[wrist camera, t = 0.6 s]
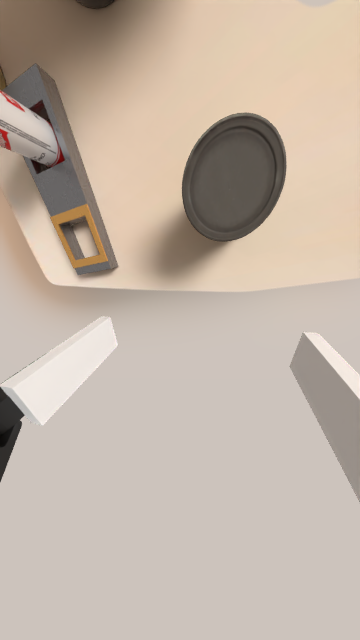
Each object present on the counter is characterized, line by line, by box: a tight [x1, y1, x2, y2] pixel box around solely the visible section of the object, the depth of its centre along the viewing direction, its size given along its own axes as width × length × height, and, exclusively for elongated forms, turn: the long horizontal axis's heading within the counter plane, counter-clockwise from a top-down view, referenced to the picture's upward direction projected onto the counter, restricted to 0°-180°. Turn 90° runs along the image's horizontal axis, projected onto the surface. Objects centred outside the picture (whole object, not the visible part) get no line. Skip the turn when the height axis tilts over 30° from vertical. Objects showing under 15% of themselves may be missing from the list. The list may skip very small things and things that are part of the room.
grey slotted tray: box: [2, 63, 118, 275], centre depth 32 cm, size 30×10×3 cm, turn 11°
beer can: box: [0, 90, 65, 167], centre depth 23 cm, size 6×6×16 cm
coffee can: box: [182, 113, 286, 241], centre depth 22 cm, size 10×10×14 cm
